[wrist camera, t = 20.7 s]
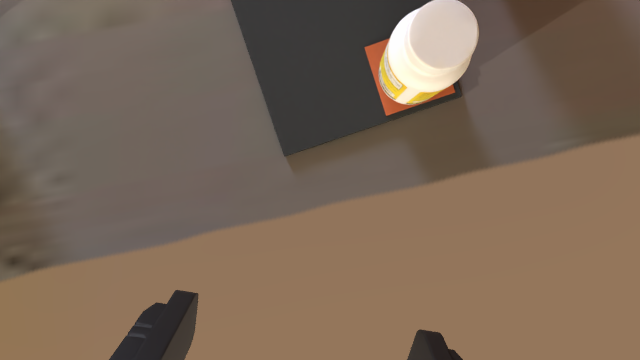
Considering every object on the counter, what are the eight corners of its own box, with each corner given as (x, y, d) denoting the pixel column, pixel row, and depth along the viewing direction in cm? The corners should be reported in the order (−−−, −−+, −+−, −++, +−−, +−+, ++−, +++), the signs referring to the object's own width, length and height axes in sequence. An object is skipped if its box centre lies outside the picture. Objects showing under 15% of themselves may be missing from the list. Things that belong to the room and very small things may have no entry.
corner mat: (224, -20, 31) (222, -24, 30) (403, -90, 29) (405, -95, 29) (284, 156, 32) (283, 156, 31) (460, 96, 30) (462, 95, 30)
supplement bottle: (453, 54, 29) (509, 7, 20) (426, 115, 30) (467, 98, 20) (392, 29, 30) (419, -30, 20) (367, 90, 30) (380, 62, 20)
